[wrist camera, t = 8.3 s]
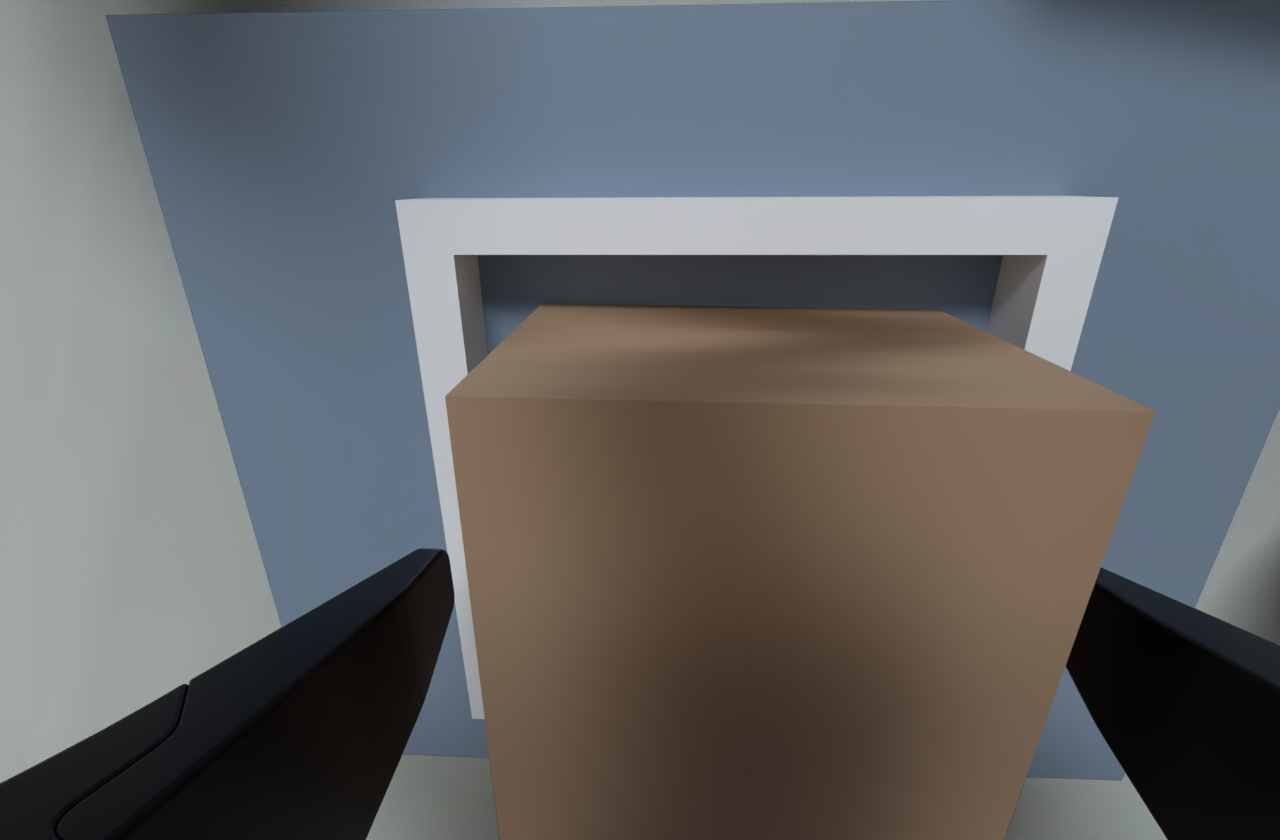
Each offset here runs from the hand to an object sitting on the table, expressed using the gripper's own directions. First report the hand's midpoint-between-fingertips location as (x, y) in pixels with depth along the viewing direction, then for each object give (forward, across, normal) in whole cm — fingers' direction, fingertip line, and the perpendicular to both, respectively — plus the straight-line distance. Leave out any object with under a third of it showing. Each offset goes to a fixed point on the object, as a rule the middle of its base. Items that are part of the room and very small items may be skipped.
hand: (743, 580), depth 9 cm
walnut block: (+3, 0, 0) cm, 3 cm away
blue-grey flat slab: (+4, 0, 0) cm, 4 cm away
